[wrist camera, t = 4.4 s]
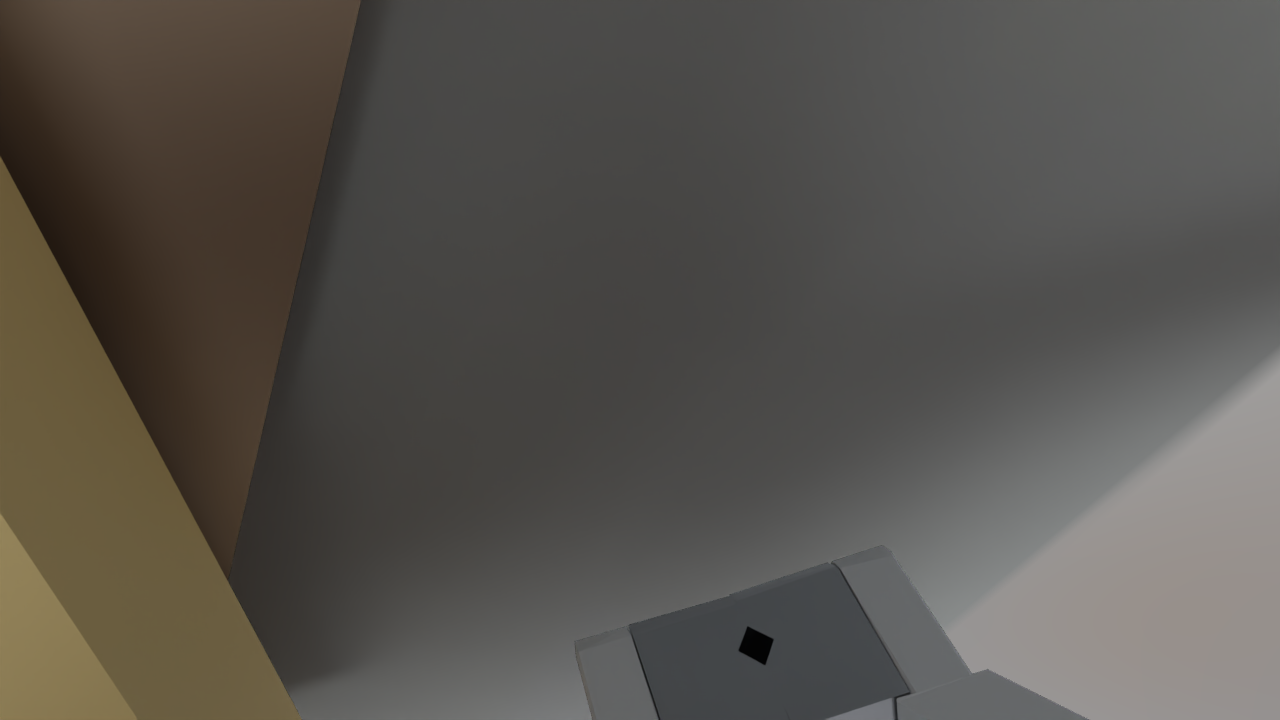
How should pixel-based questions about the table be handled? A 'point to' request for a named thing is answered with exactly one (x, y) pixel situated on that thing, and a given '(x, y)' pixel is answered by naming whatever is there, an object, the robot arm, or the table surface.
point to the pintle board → (178, 201)
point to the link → (100, 531)
